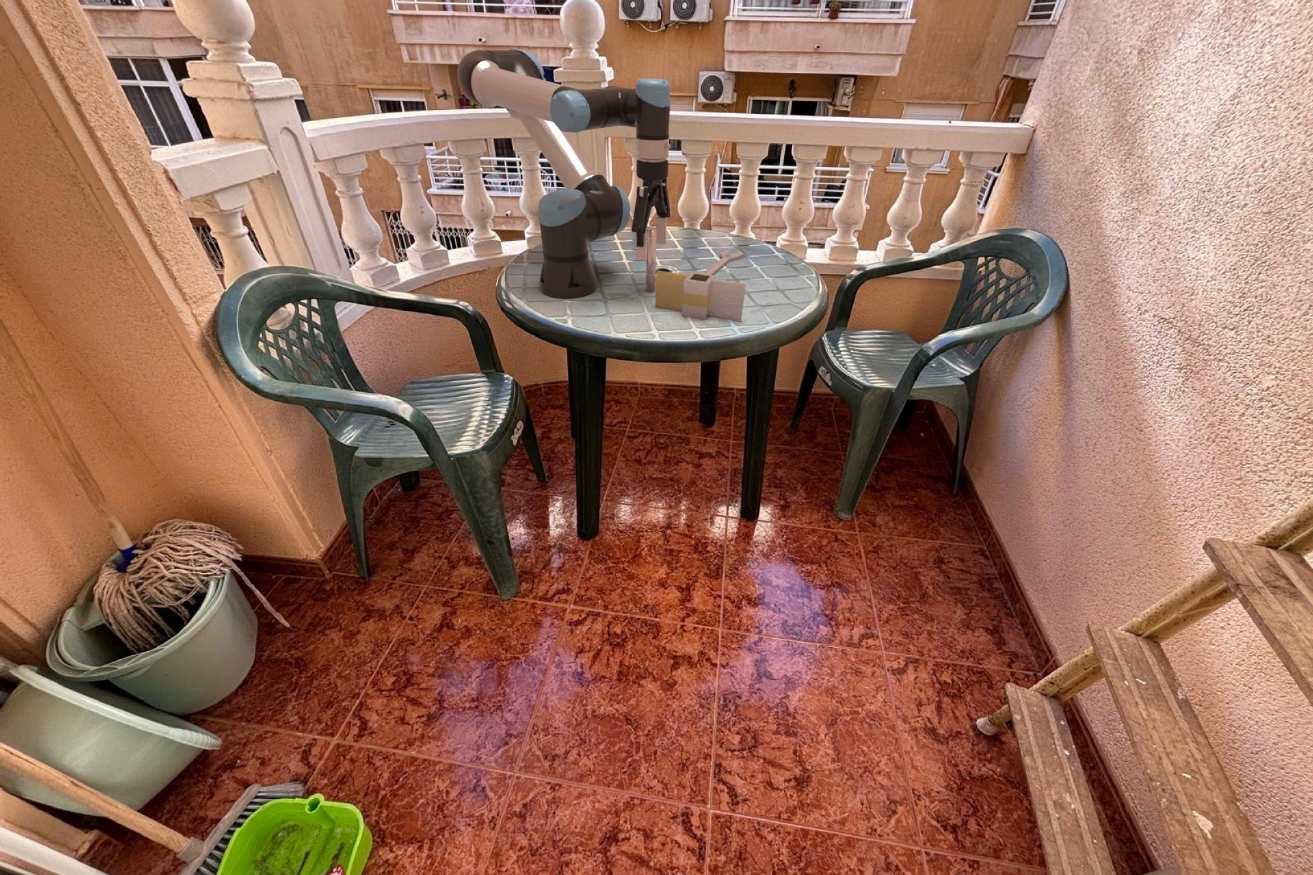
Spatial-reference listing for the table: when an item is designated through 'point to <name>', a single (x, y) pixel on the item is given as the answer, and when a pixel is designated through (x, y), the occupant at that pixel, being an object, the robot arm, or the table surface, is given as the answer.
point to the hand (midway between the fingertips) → (651, 251)
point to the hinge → (699, 295)
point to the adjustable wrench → (723, 261)
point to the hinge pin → (651, 260)
